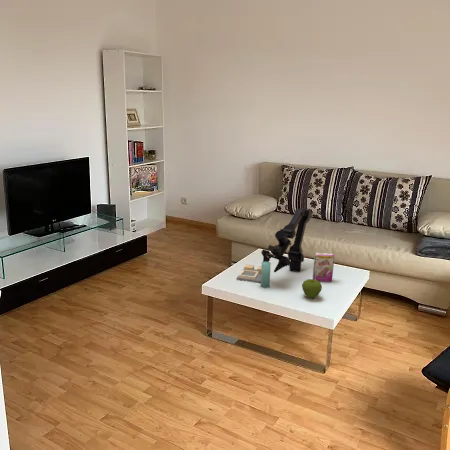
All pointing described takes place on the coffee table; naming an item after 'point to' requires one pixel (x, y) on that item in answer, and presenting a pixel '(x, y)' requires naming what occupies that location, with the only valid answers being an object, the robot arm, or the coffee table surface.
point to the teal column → (265, 274)
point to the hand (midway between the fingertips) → (268, 269)
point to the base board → (250, 274)
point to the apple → (311, 288)
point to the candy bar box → (323, 267)
